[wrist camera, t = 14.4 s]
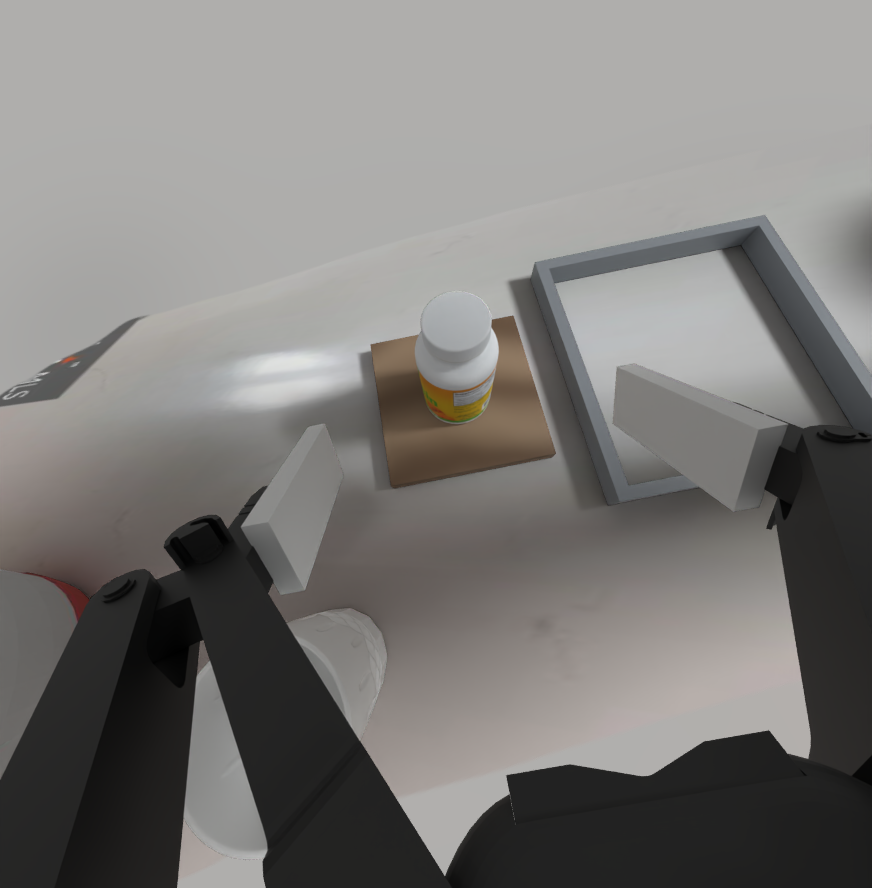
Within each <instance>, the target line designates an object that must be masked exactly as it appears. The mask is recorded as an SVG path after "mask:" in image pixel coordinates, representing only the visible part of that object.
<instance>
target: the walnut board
mask: <svg viewBox="0 0 872 888" xmlns="http://www.w3.org/2000/svg"><path fill="white" fill-rule="evenodd" d="M491 328H492V330H493V331H494V333H495V335H496V338H497V341H498V347H499V353H498V361H497V366H496V370H495V375H494V381H493V386H492V391H491V396H490V399H489V403H488V405H487V407H486V409H485V410H484V412H483V413H482V414H481V415H480V416H479V417H477V418H476V419H474V420H473V421H470V422H467V423H463V424H450V423H446V422H443V421H441V420H440V419H438V418H437V417H435V416H434V415H433V414H432V413H431V411H430V410H429V408H428V406H427V404H426V401H425V397H424V393H423V389H422V384H421V380H420V376H419V372H418V368H417V364H416V359H415V344H416V340H417V338H418V335H415V336H410V337H405V338H400V339H395V340H391V341H386V342H381V343H376V344H371V351H372V358H373V365H374V372H375V379H376V386H377V393H378V400H379V407H380V414H381V421H382V427H383V434H384V441H385V448H386V455H387V462H388V469H389V476H390V483H391V486H392V487H393V488H399V487H404V486H409V485H415V484H420V483H425V482H430V481H435V480H440V479H445V478H450V477H455V476H460V475H465V474H470V473H475V472H480V471H485V470H491V469H496V468H501V467H506V466H511V465H516V464H521V463H526V462H531V461H536V460H541V459H546V458H551V457H553V456H554V455H555V454H556V452H555V449H554V445H553V442H552V439H551V436H550V433H549V429H548V426H547V423H546V420H545V416H544V413H543V410H542V407H541V403H540V400H539V397H538V394H537V390H536V387H535V384H534V381H533V378H532V374H531V371H530V368H529V365H528V361H527V358H526V355H525V352H524V348H523V345H522V342H521V339H520V335H519V332H518V329H517V326H516V322H515V319H514V316H508V317H504V318H499V319H494V320H492V325H491Z"/></svg>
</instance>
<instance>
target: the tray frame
mask: <svg viewBox="0 0 872 888" xmlns="http://www.w3.org/2000/svg"><path fill="white" fill-rule="evenodd" d="M738 245H741V246H742V247H743V249H744V251H745V252H746V254H747V255H748V257H749V259H750V260H751V262H752V264H753V265H754V267H755V269H756V270H757V272H758V273H759V275H760V277H761V278H762V280H763V282H764V283H765V285H766V286H767V288H768V290H769V291H770V293H771V295H772V296H773V298H774V300H775V301H776V303H777V304H778V306H779V308H780V309H781V311H782V313H783V314H784V316H785V318H786V319H787V321H788V322H789V324H790V326H791V327H792V329H793V331H794V332H795V334H796V336H797V337H798V339H799V340H800V342H801V344H802V345H803V347H804V349H805V350H806V352H807V354H808V355H809V357H810V358H811V360H812V362H813V363H814V365H815V367H816V368H817V370H818V371H819V373H820V375H821V376H822V378H823V380H824V381H825V383H826V385H827V386H828V388H829V389H830V391H831V393H832V394H833V396H834V398H835V399H836V401H837V403H838V404H839V406H840V407H841V409H842V411H843V412H844V414H845V416H846V417H847V419H848V421H849V422H850V424H851V425H852V427H853V429H856V430H860V431H863V432H866V433H869V434H871V435H872V375H871V374H870V372H869V371H868V369H867V368H866V366H865V365H864V363H863V362H862V360H861V359H860V357H859V356H858V354H857V353H856V351H855V350H854V348H853V347H852V345H851V344H850V342H849V341H848V339H847V338H846V336H845V335H844V333H843V332H842V330H841V329H840V327H839V326H838V324H837V322H836V321H835V319H834V318H833V316H832V315H831V313H830V312H829V310H828V309H827V307H826V306H825V304H824V303H823V301H822V300H821V298H820V297H819V295H818V294H817V292H816V291H815V289H814V288H813V286H812V285H811V283H810V282H809V280H808V279H807V277H806V276H805V274H804V273H803V271H802V270H801V268H800V267H799V265H798V264H797V262H796V261H795V259H794V258H793V256H792V255H791V253H790V252H789V250H788V249H787V247H786V246H785V244H784V243H783V241H782V240H781V238H780V237H779V235H778V234H777V232H776V231H775V229H774V228H773V226H772V225H771V223H770V222H769V220H768V219H767V217H766V216H765V215H763V216H758V217H753V218H748V219H743V220H738V221H733V222H728V223H724V224H719V225H714V226H709V227H704V228H699V229H694V230H690V231H685V232H680V233H675V234H670V235H665V236H660V237H655V238H651V239H646V240H641V241H636V242H631V243H626V244H621V245H617V246H612V247H607V248H602V249H597V250H592V251H587V252H582V253H578V254H573V255H568V256H563V257H558V258H553V259H548V260H544V261H539V262H535V264H534V268H533V272H532V276H531V282H532V285H533V288H534V291H535V294H536V297H537V300H538V303H539V305H540V308H541V311H542V314H543V317H544V320H545V323H546V326H547V329H548V332H549V335H550V338H551V341H552V343H553V346H554V349H555V352H556V355H557V358H558V361H559V364H560V367H561V370H562V373H563V376H564V379H565V381H566V384H567V387H568V390H569V393H570V396H571V399H572V402H573V405H574V408H575V411H576V414H577V417H578V419H579V422H580V425H581V428H582V431H583V434H584V437H585V440H586V443H587V446H588V449H589V452H590V455H591V457H592V460H593V463H594V466H595V469H596V472H597V475H598V478H599V481H600V484H601V487H602V490H603V493H604V496H605V498H606V501H607V504H608V505H612V504H617V503H623V502H628V501H633V500H638V499H643V498H648V497H653V496H658V495H664V494H669V493H674V492H679V491H684V490H689V489H694V488H699V486H697V485H696V484H695V483H693V482H692V481H691V480H689V479H688V478H687V477H685V476H684V475H680V476H675V477H670V478H665V479H660V480H654V481H649V482H644V483H639V484H634V485H628V482H627V479H626V476H625V474H624V471H623V468H622V466H621V463H620V460H619V457H618V455H617V452H616V449H615V447H614V444H613V441H612V438H611V436H610V433H609V430H608V428H607V425H606V422H605V419H604V417H603V414H602V411H601V409H600V406H599V403H598V400H597V398H596V395H595V392H594V390H593V387H592V384H591V381H590V379H589V376H588V373H587V371H586V368H585V365H584V362H583V360H582V357H581V354H580V352H579V349H578V346H577V343H576V341H575V338H574V335H573V332H572V330H571V327H570V324H569V322H568V319H567V316H566V313H565V311H564V308H563V305H562V303H561V300H560V297H559V294H558V292H557V289H556V286H555V284H554V283H557V282H562V281H567V280H572V279H577V278H582V277H587V276H592V275H597V274H601V273H606V272H611V271H616V270H621V269H626V268H631V267H636V266H641V265H645V264H650V263H655V262H660V261H665V260H670V259H675V258H680V257H685V256H690V255H694V254H699V253H704V252H709V251H714V250H719V249H724V248H729V247H734V246H738Z"/></svg>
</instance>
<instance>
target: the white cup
mask: <svg viewBox="0 0 872 888" xmlns="http://www.w3.org/2000/svg"><path fill="white" fill-rule="evenodd" d="M287 625H288V627H289V628H290V630H291V631H292V633H293V635H294V636H295V638H296V639H297V641H298V643H299V644H300V646H301V647H302V649H303V651H304V652H305V654H306V655H307V657H308V659H309V660H310V662H311V663H312V665H313V667H314V668H315V670H316V671H317V673H318V675H319V676H320V678H321V679H322V681H323V683H324V684H325V686H326V687H327V689H328V691H329V692H330V694H331V695H332V697H333V699H334V700H335V702H336V703H337V705H338V707H339V708H340V710H341V711H342V713H343V715H344V716H345V718H346V719H347V721H348V723H349V724H350V726H351V728H352V729H353V731H354V732H355V734H356V735H357V737H358V739H359V740H360V741H361V739H362V736H363V734H364V732H365V729H366V727H367V724H368V722H369V719H370V716H371V713H372V711H373V709H374V706H375V703H376V700H377V697H378V694H379V691H380V689H381V686H382V684H383V682H384V676H385V670H386V663H387V652H386V648H385V644H384V639H383V635H382V633H381V631H380V630H379V629H378V628H377V626H376V625H375V624H374V622H373V621H372V620H371V619H370V617H369V616H367V615H365V614H363V613H360V612H358V611H356V610H354V609H352V608H343V609H331V610H327V611H325V612H320V613H316V614H312V615H309V616H306V617H302V618H299V619H296V620H293V621H290V622H287ZM183 818H184V820H185V821H186V823H187V825H188V826H189V828H190V829H191V830H192V832H193V833H194V834H195V835H196V836H197V837H198V838H199V839H200V840H201V841H202V842H203V843H204V844H205V845H207V846H208V847H209V848H211V849H213V850H214V851H216V852H218V853H220V854H222V855H225V856H228V857H231V858H236V859H243V860H255V859H263V858H264V857H265V855H266V853H267V841H266V837H265V833H264V829H263V826H262V823H261V820H260V817H259V814H258V810H257V807H256V804H255V801H254V798H253V795H252V792H251V788H250V785H249V782H248V779H247V776H246V773H245V769H244V766H243V763H242V760H241V757H240V754H239V751H238V747H237V744H236V741H235V738H234V735H233V732H232V728H231V725H230V722H229V719H228V716H227V713H226V710H225V706H224V703H223V700H222V697H221V694H220V691H219V687H218V684H217V681H216V678H215V675H214V672H213V669H212V665H211V662H210V661H209V662H208V663H207V664H206V665H205V666H204V667H203V669H202V670H201V671H200V672H199V674H198V675H197V677H196V688H195V699H194V710H193V720H192V731H191V742H190V753H189V764H188V774H187V785H186V796H185V807H184V817H183Z"/></svg>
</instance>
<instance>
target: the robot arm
mask: <svg viewBox="0 0 872 888" xmlns="http://www.w3.org/2000/svg"><path fill="white" fill-rule="evenodd" d="M613 424H614V425H615V426H617V427H618V428H620V429H621V430H622V431H624V432H625V433H626V434H628V435H629V436H630V437H632V438H633V439H635V440H636V441H637V442H639V443H640V444H641V445H643V446H644V447H646V448H647V449H648V450H650V451H651V452H652V453H654V454H655V455H656V456H658V457H659V458H661V459H662V460H663V461H665V462H666V463H667V464H669V465H670V466H671V467H673V468H674V469H676V470H677V471H678V472H680V473H681V474H682V475H684V476H685V477H687V478H688V479H689V480H691V481H692V482H693V483H695V484H696V485H697V486H699V487H700V488H702V489H703V490H704V491H706V492H707V493H708V494H710V495H711V496H712V497H714V498H715V499H717V500H718V501H719V502H721V503H722V504H723V505H725V506H726V507H728V508H729V509H730V510H732V511H733V512H736V511H741V510H746V509H752V508H757V507H759V506H760V503H761V501H762V498H763V495H764V492H765V490H767V491H769V492H770V493H772V494H773V495H775V496H777V497H778V498H777V501H776V503H775V506H774V509H773V511H772V514H771V517H770V519H769V522H768V525H767V528H766V529H770V530H772V527H773V525H777V531H778V537H779V543H780V550H781V556H782V562H783V568H784V574H785V580H786V586H787V592H788V598H789V604H790V610H791V616H792V623H793V629H794V635H795V641H796V647H797V653H798V659H799V665H800V671H801V677H802V683H803V689H804V695H805V702H806V707H807V713H808V720H809V726H810V732H811V748H810V754H809V759H806V758H802V757H798V756H795V755H791V754H787V753H786V751H785V750H784V749H783V748H782V746H781V745H780V744H779V742H778V741H777V740H776V739H775V737H774V736H773V735H772V734H771V732H770V731H763V732H757V733H751V734H746V735H740V736H734V737H728V738H722V739H716V740H711V741H705V742H703V743H701V744H700V745H698V746H696V747H695V748H693V749H692V750H690V751H689V752H687V753H685V754H684V755H683V756H681V757H679V758H678V759H676V760H675V761H673V762H672V763H670V764H668V765H667V766H665V767H664V768H662V769H661V770H659V771H658V772H656V773H654V774H652V775H650V776H636V775H630V774H624V773H618V772H611V771H606V770H600V769H594V768H587V767H582V766H576V765H564V766H558V767H552V768H546V769H540V770H535V771H529V772H523V773H517V774H511V775H507V781H508V787H509V792H510V795H507V796H506V797H504V798H502V799H501V800H499V801H498V802H496V803H495V804H494V805H493V806H492V807H490V808H489V809H488V810H487V811H486V812H485V813H483V814H482V816H481V817H480V818H479V819H478V820H477V822H476V823H475V824H474V825H473V826H472V827H471V829H470V830H469V832H468V833H467V835H466V836H465V838H464V840H463V841H462V843H461V844H460V846H459V847H458V849H457V851H456V853H455V855H454V858H453V860H452V862H451V864H450V866H449V868H448V870H447V873H446V876H444V874H443V873H442V871H441V869H440V868H439V866H438V865H437V863H436V862H435V860H434V858H433V857H432V855H431V853H430V852H429V850H428V849H427V847H426V845H425V844H424V842H423V841H422V839H421V837H420V836H419V834H418V833H417V831H416V829H415V828H414V826H413V825H412V823H411V822H410V820H409V818H408V817H407V815H406V813H405V812H404V811H403V809H402V807H401V806H400V804H399V802H398V801H397V799H396V798H395V796H394V794H393V793H392V791H391V790H390V788H389V786H388V785H387V783H386V782H385V780H384V778H383V777H382V775H381V774H380V772H379V770H378V769H377V767H376V766H375V764H374V762H373V761H372V759H371V758H370V756H369V754H368V753H367V751H366V750H365V748H364V746H363V745H362V743H361V742H360V740H359V739H358V737H357V735H356V734H355V732H354V731H353V729H352V728H351V726H350V724H349V723H348V721H347V719H346V718H345V716H344V715H343V713H342V711H341V710H340V708H339V707H338V705H337V703H336V702H335V700H334V699H333V697H332V695H331V694H330V692H329V691H328V689H327V687H326V686H325V684H324V683H323V681H322V679H321V678H320V676H319V675H318V673H317V671H316V670H315V668H314V667H313V665H312V663H311V662H310V660H309V659H308V657H307V655H306V654H305V652H304V651H303V649H302V647H301V646H300V644H299V643H298V641H297V639H296V638H295V636H294V635H293V633H292V631H291V630H290V628H289V627H288V625H287V623H286V622H285V620H284V619H283V617H282V615H281V614H280V612H279V611H278V609H277V607H276V606H275V604H274V603H273V601H272V599H271V598H270V596H269V595H268V592H269V590H270V588H271V585H272V583H274V585H275V586H276V588H277V590H278V591H279V593H280V595H284V594H289V593H295V592H300V591H305V589H306V586H307V583H308V580H309V577H310V574H311V571H312V568H313V565H314V562H315V559H316V556H317V553H318V550H319V547H320V544H321V541H322V538H323V535H324V532H325V529H326V526H327V523H328V520H329V517H330V514H331V511H332V508H333V505H334V502H335V499H336V496H337V493H338V490H339V487H340V484H341V481H342V478H343V475H344V474H343V471H342V468H341V466H340V463H339V460H338V457H337V455H336V452H335V449H334V446H333V444H332V441H331V438H330V435H329V433H328V430H327V427H326V425H325V423H324V424H319V425H314V426H309V427H308V428H307V429H306V431H305V432H304V434H303V435H302V437H301V438H300V440H299V441H298V443H297V444H296V446H295V447H294V449H293V450H292V452H291V453H290V454H289V456H288V457H287V459H286V460H285V462H284V463H283V465H282V466H281V468H280V469H279V471H278V472H277V474H276V475H275V477H274V478H273V480H272V481H271V483H270V484H269V486H265V487H262V488H261V489H260V490H258V491H257V492H256V493H255V494H254V495H252V496H251V498H250V499H249V500H248V502H247V503H246V505H245V508H243V509H242V510H241V511H240V513H239V516H237V517H236V518H235V520H234V521H233V523H232V524H231V525H230V527H229V528H228V529H227V527H226V526H225V524H224V522H223V521H222V519H221V518H220V517H219V516H217V515H207V516H203V517H199V518H197V519H195V520H192V521H190V522H188V523H186V524H185V525H183V526H181V527H180V528H178V529H177V530H176V531H174V532H173V533H172V534H171V535H170V536H169V537H168V538H167V540H166V541H165V544H164V548H165V549H166V551H167V552H168V553H169V555H170V556H171V557H172V559H173V560H174V561H175V563H176V564H177V565H178V567H179V568H180V569H181V570H180V571H177V572H175V573H172V574H170V575H167V576H165V577H162V578H160V579H157V580H156V579H155V578H154V577H153V576H152V574H151V573H150V572H149V571H147V570H145V569H141V570H135V571H132V572H129V573H126V574H124V575H122V576H120V577H117V578H115V579H113V580H111V581H110V583H107V584H105V585H104V586H103V587H102V588H101V589H100V590H99V591H98V592H97V593H96V594H94V595H93V596H92V598H91V599H90V600H89V602H88V603H87V604H86V606H85V608H84V611H83V613H82V615H81V617H80V619H79V621H78V623H77V625H76V627H75V629H74V631H73V633H72V635H71V637H70V639H69V641H68V643H67V645H66V647H65V649H64V651H63V653H62V655H61V657H60V659H59V661H58V663H57V665H56V667H55V669H54V672H53V674H52V676H51V678H50V680H49V682H48V684H47V686H46V688H45V690H44V692H43V694H42V696H41V698H40V700H39V702H38V704H37V706H36V708H35V710H34V712H33V714H32V716H31V718H30V720H29V722H28V724H27V726H26V728H25V730H24V733H23V735H22V737H21V739H20V741H19V743H18V745H17V747H16V749H15V751H14V753H13V755H12V757H11V759H10V761H9V763H8V765H7V767H6V769H5V771H4V773H3V775H2V777H1V779H0V888H177V882H178V871H179V861H180V850H181V839H182V828H183V817H184V807H185V796H186V785H187V774H188V764H189V753H190V742H191V731H192V720H193V710H194V699H195V688H196V677H197V667H198V656H199V645H200V641H202V640H204V643H205V646H206V650H207V653H208V656H209V659H210V662H211V665H212V669H213V672H214V675H215V678H216V681H217V684H218V687H219V691H220V694H221V697H222V700H223V703H224V706H225V710H226V713H227V716H228V719H229V722H230V725H231V728H232V732H233V735H234V738H235V741H236V744H237V747H238V751H239V754H240V757H241V760H242V763H243V766H244V769H245V773H246V776H247V779H248V782H249V785H250V788H251V792H252V795H253V798H254V801H255V804H256V807H257V810H258V814H259V817H260V820H261V823H262V826H263V829H264V833H265V837H266V841H267V853H266V855H265V857H264V860H263V877H264V882H265V886H266V888H872V435H871V434H869V433H866V432H863V431H860V430H856V429H852V428H848V427H841V426H833V425H818V426H810V427H807V428H805V429H803V428H800V427H797V426H795V425H792V424H790V423H787V422H785V421H782V420H779V419H777V418H774V417H772V416H769V415H764V413H762V412H759V411H756V410H752V409H751V408H749V407H746V406H744V405H741V404H738V403H735V402H731V401H728V400H726V399H723V398H721V397H718V396H716V395H713V394H711V393H708V392H706V391H703V390H701V389H698V388H695V387H693V386H690V385H688V384H685V383H683V382H680V381H678V380H675V379H673V378H670V377H667V376H665V375H662V374H660V373H657V372H655V371H652V370H650V369H647V368H645V367H642V366H639V365H637V364H629V365H624V366H618V367H617V372H616V385H615V398H614V411H613ZM510 797H511V799H510ZM511 803H512V805H511ZM512 808H513V810H512ZM513 813H514V815H513ZM514 818H515V820H514Z"/></svg>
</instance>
